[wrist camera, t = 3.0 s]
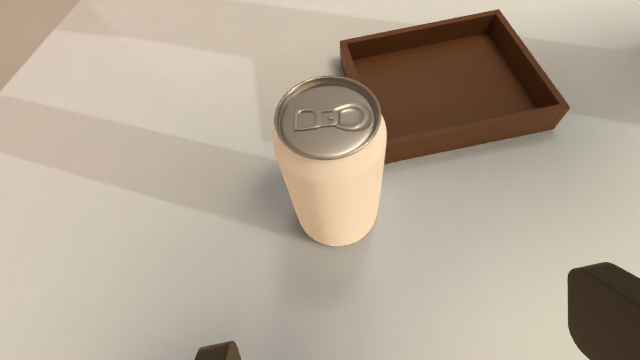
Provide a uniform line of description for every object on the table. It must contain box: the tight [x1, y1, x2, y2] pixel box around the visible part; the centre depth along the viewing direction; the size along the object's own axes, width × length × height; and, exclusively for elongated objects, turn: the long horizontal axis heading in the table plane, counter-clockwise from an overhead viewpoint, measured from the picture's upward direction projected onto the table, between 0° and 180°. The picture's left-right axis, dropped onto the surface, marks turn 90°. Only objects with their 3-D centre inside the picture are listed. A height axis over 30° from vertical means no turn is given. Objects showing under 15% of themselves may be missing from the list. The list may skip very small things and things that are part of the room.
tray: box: [340, 9, 570, 164], centre depth 33 cm, size 16×13×3 cm
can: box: [273, 76, 387, 246], centre depth 24 cm, size 6×6×12 cm
